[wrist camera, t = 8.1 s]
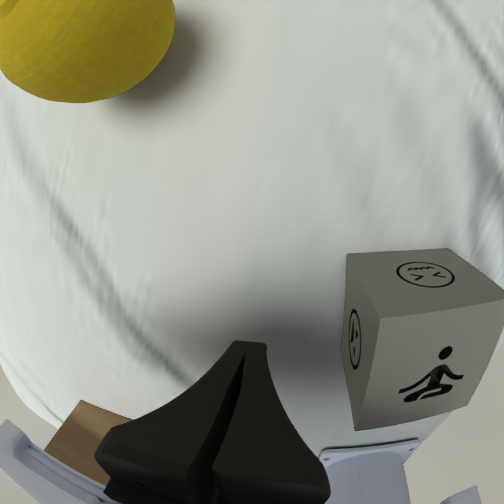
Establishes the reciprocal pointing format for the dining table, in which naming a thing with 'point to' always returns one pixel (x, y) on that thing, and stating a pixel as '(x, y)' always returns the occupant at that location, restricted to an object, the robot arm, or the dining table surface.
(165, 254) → the dining table surface
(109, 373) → the dining table surface
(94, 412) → the brown wooden block
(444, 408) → the dice cube
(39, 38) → the lemon
